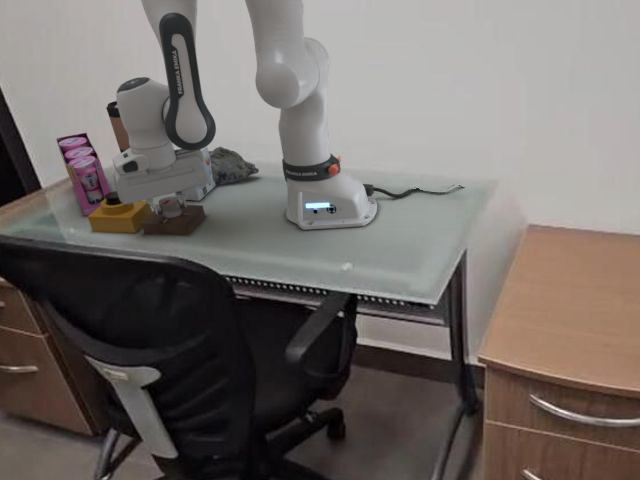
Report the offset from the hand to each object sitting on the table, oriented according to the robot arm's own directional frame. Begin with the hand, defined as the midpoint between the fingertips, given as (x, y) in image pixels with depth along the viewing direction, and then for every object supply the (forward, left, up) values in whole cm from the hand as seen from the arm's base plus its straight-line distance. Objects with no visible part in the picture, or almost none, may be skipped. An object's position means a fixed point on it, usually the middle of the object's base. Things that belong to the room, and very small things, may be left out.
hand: (171, 210), depth 146 cm
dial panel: (0, 0, -4) cm, 4 cm away
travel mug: (+24, -29, -4) cm, 38 cm away
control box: (+14, 0, -4) cm, 14 cm away
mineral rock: (-4, -26, -4) cm, 26 cm away
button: (+14, 0, +2) cm, 14 cm away
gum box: (+30, -14, -4) cm, 33 cm away
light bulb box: (+3, -18, -4) cm, 19 cm away
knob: (0, 0, -1) cm, 1 cm away
